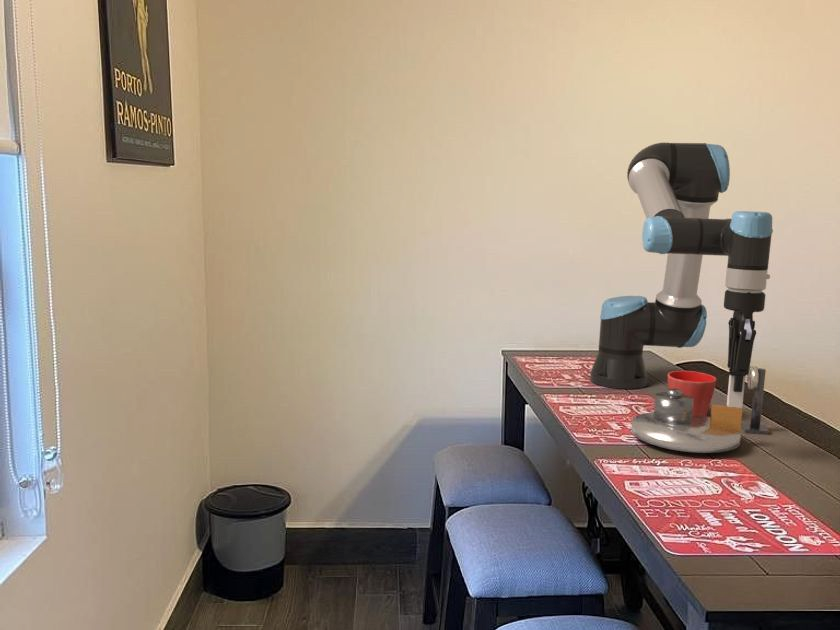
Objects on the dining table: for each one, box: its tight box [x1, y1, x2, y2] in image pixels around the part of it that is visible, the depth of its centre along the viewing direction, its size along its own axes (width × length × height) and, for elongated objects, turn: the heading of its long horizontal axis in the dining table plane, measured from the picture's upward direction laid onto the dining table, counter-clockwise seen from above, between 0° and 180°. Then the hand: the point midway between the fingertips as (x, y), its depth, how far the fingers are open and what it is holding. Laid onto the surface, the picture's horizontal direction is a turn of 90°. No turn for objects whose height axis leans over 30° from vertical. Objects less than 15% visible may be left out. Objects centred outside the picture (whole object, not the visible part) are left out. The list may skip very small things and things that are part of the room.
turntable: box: [630, 404, 744, 454], centre depth 176 cm, size 22×22×7 cm
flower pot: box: [667, 370, 717, 416], centre depth 195 cm, size 11×11×10 cm
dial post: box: [741, 365, 770, 436], centre depth 185 cm, size 5×5×14 cm
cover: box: [653, 388, 694, 425], centre depth 181 cm, size 8×8×6 cm
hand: (734, 406), depth 168 cm, fingers closed
